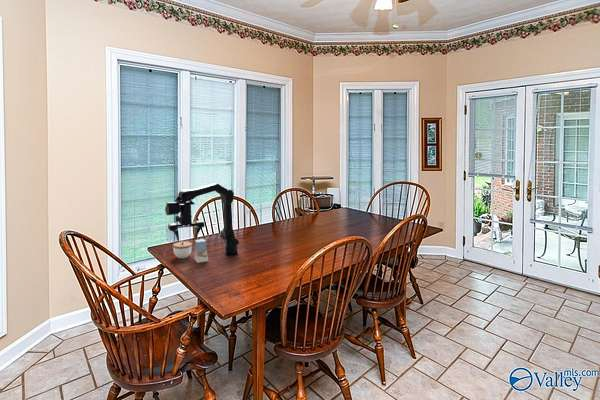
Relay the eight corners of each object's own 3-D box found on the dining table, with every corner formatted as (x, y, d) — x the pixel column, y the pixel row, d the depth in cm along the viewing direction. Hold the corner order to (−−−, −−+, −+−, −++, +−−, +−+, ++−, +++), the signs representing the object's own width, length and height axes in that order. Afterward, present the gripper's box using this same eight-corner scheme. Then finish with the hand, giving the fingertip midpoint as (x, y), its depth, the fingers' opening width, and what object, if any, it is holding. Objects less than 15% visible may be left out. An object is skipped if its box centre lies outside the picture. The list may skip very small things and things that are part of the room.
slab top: (205, 253, 211) (205, 248, 210) (207, 256, 206) (207, 251, 205) (194, 254, 208) (194, 249, 208) (196, 258, 203) (196, 252, 203)
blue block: (203, 248, 210) (203, 238, 209) (206, 251, 206) (206, 241, 205) (195, 250, 207) (194, 240, 206) (197, 252, 203) (197, 242, 202)
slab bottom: (205, 258, 212) (204, 253, 211) (207, 261, 206) (207, 256, 206) (194, 260, 209) (194, 255, 208) (197, 263, 203) (197, 258, 203)
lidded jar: (172, 260, 207) (172, 244, 205) (174, 254, 217) (173, 239, 215) (192, 259, 209) (191, 243, 208) (192, 253, 220) (192, 238, 218)
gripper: (198, 209, 210) (199, 235, 212) (165, 212, 200) (166, 239, 203) (204, 212, 200) (205, 239, 203) (169, 215, 191) (170, 244, 193)
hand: (187, 240), depth 201 cm, fingers open, 9 cm apart
